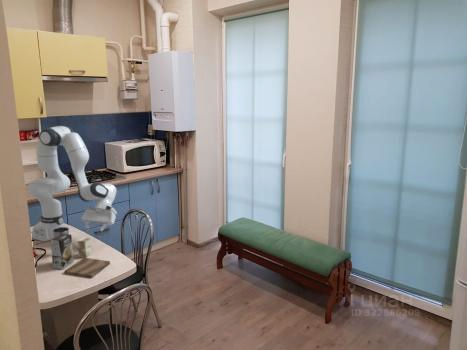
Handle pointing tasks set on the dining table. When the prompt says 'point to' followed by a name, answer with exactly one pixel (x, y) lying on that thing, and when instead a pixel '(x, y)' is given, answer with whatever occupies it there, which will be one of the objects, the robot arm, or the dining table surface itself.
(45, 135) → the robot arm
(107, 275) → the dining table surface
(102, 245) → the dining table surface
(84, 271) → the walnut board
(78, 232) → the dining table surface
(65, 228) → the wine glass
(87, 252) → the maple block
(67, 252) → the coffee box
